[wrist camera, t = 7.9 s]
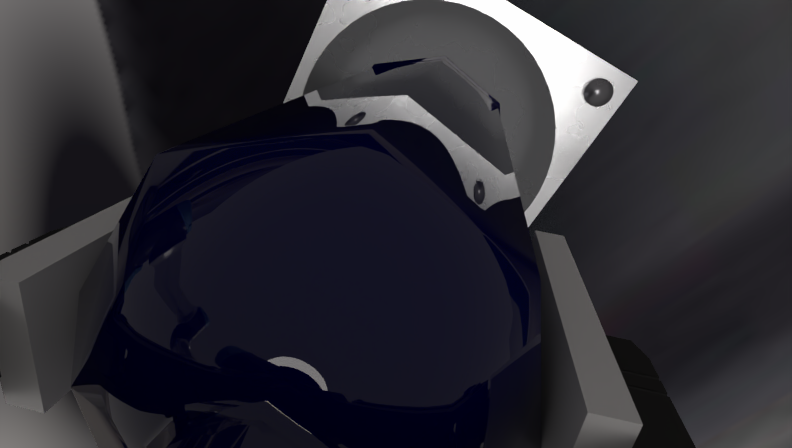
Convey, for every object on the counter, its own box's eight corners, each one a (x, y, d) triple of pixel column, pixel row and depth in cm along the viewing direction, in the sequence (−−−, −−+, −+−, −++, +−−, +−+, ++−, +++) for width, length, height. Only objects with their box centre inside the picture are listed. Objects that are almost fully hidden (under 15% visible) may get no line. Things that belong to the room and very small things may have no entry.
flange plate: (253, 178, 30) (241, 186, 29) (366, -84, 24) (359, -92, 22) (469, 301, 31) (468, 315, 30) (634, 80, 25) (645, 83, 23)
